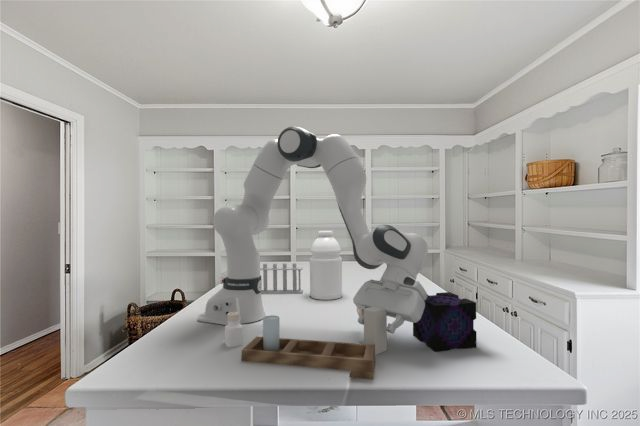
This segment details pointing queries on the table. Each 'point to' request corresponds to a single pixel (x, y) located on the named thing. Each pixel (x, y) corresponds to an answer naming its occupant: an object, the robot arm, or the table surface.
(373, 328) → the clay block
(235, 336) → the pepper shaker
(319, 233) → the bottle
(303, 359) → the rack
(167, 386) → the table surface
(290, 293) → the test tube rack
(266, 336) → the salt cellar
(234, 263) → the robot arm
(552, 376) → the table surface
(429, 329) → the energy cube
